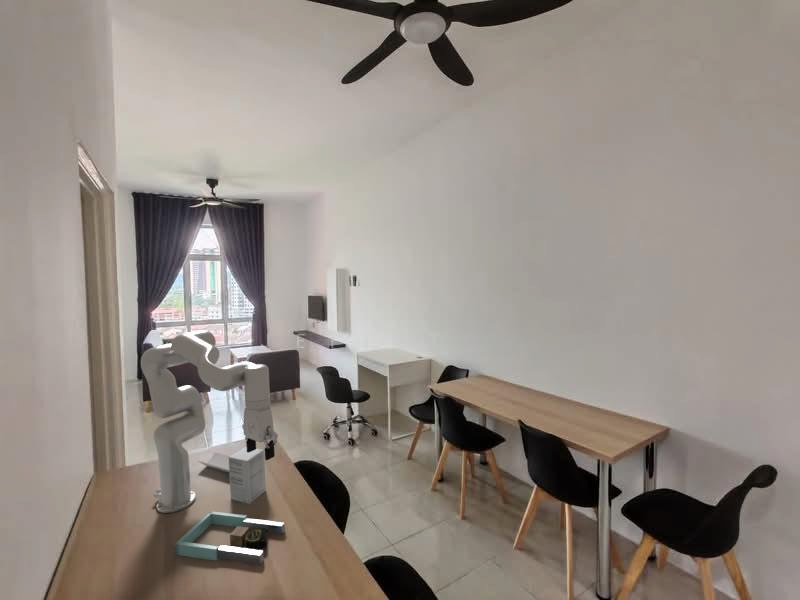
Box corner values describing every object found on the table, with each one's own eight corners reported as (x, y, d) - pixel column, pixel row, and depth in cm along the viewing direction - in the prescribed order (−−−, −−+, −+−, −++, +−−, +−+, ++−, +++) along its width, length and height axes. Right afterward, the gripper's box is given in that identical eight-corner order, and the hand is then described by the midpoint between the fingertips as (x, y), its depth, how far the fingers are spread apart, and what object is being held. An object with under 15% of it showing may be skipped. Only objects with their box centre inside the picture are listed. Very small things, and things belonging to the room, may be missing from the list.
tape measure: (267, 551, 115) (266, 539, 115) (243, 556, 113) (242, 545, 113) (267, 536, 121) (267, 525, 121) (245, 541, 119) (244, 530, 119)
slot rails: (217, 559, 112) (217, 549, 112) (246, 526, 126) (246, 518, 126) (260, 565, 109) (259, 555, 109) (284, 531, 124) (284, 522, 123)
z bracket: (215, 470, 171) (223, 457, 175) (256, 482, 161) (263, 467, 165) (197, 461, 163) (206, 447, 167) (239, 473, 153) (247, 458, 156)
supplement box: (248, 486, 151) (246, 445, 149) (266, 490, 147) (264, 449, 146) (229, 499, 142) (227, 456, 140) (248, 504, 138) (246, 460, 137)
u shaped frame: (175, 554, 114) (174, 543, 114) (210, 520, 129) (210, 511, 129) (216, 560, 111) (215, 549, 111) (247, 525, 127) (247, 515, 127)
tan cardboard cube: (230, 546, 117) (229, 534, 117) (238, 538, 121) (237, 526, 121) (241, 548, 116) (241, 536, 116) (249, 539, 120) (248, 527, 120)
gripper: (231, 402, 123) (234, 452, 124) (264, 411, 113) (267, 466, 114) (252, 395, 129) (254, 443, 130) (284, 404, 119) (287, 456, 120)
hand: (260, 454), depth 122 cm, fingers open, 9 cm apart
